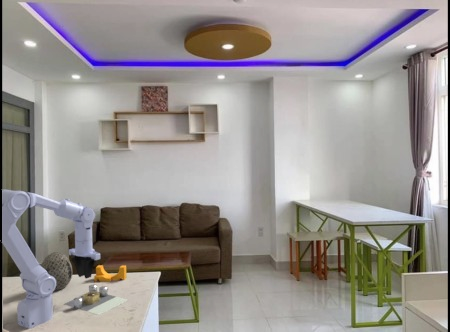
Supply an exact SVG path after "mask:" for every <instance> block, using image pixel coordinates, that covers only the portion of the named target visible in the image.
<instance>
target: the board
mask: <svg viewBox="0 0 450 332" xmlns="http://www.w3.org/2000/svg"><path fill="white" fill-rule="evenodd" d="M97 292H98V293H99V291H97ZM80 297H82V306H83V307H82V308H81V309H80V310H81V311H84V312H88V313H91V314H94V315H97V316H101V315H103V314H105V313H106V312H109V311H110V310H112V309H114V308H115V307H118V306H119V305H122V304H123V303H125V302H127V301H128V299H127V298H122V297H119V296H115V295H111V294H109V293H107V296H106V297H100V296H99V302H97V303H95V304H86V305H84V302H83V295H81V296H80ZM64 305H65V306H68V307H72V308H74V303H73V299H72V300H69V301H67V302H64Z"/></svg>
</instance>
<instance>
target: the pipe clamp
mask: <svg viewBox="0 0 450 332" xmlns="http://www.w3.org/2000/svg"><path fill="white" fill-rule="evenodd" d="M93 279H94V282H98V281H99V282H107V283H108V282H111V281H120V280H121V279H122V281H125V280H126V279H127V265H121V266H119V269H118V272H117V273H115V274H110V273H108V272H107V271H106V270H105V268H104V265H103V264H102V265H100V264H98V265H97V266H96V267H95V275H94V277H93Z"/></svg>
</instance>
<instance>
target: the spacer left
mask: <svg viewBox="0 0 450 332" xmlns="http://www.w3.org/2000/svg"><path fill="white" fill-rule="evenodd" d="M72 300H73V303H74V307H73V310H81V308H82V307H83V306H82V297H81V296H79V297H74V298H73V299H72Z"/></svg>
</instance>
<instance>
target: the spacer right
mask: <svg viewBox="0 0 450 332" xmlns="http://www.w3.org/2000/svg"><path fill="white" fill-rule="evenodd" d="M98 289H99V291H98V292H99V296H100V297H106V296H107V294H108V286H105V285H104V286H100V287H98Z"/></svg>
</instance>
